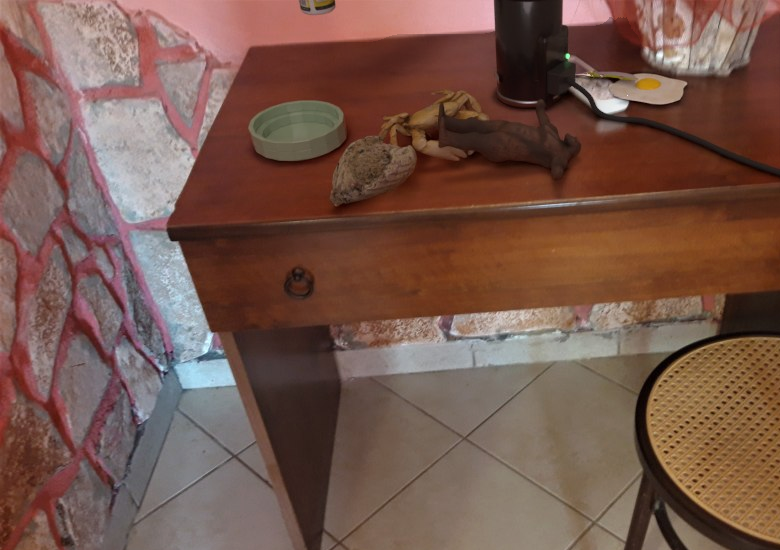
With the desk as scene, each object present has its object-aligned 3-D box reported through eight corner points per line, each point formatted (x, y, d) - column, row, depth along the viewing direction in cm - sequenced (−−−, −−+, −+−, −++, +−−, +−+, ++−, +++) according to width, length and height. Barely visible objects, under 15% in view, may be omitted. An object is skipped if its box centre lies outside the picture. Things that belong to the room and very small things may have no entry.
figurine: (438, 76, 97) (574, 97, 101) (433, 113, 100) (565, 132, 104) (442, 147, 84) (598, 168, 88) (436, 187, 88) (587, 206, 92)
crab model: (430, 181, 93) (428, 138, 89) (361, 150, 99) (356, 109, 96) (515, 141, 102) (515, 100, 98) (446, 115, 108) (444, 76, 104)
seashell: (335, 231, 92) (376, 209, 84) (297, 182, 90) (336, 155, 82) (394, 184, 98) (437, 159, 91) (360, 136, 96) (402, 107, 88)
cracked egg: (627, 70, 117) (628, 62, 116) (698, 80, 112) (699, 72, 111) (598, 95, 110) (599, 87, 109) (672, 107, 105) (673, 98, 105)
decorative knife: (647, 71, 112) (635, 79, 109) (647, 74, 112) (635, 83, 109) (575, 68, 117) (561, 76, 114) (575, 72, 118) (561, 80, 114)
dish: (366, 134, 104) (363, 112, 102) (300, 173, 96) (295, 151, 94) (301, 113, 109) (297, 92, 107) (234, 149, 101) (228, 128, 99)
